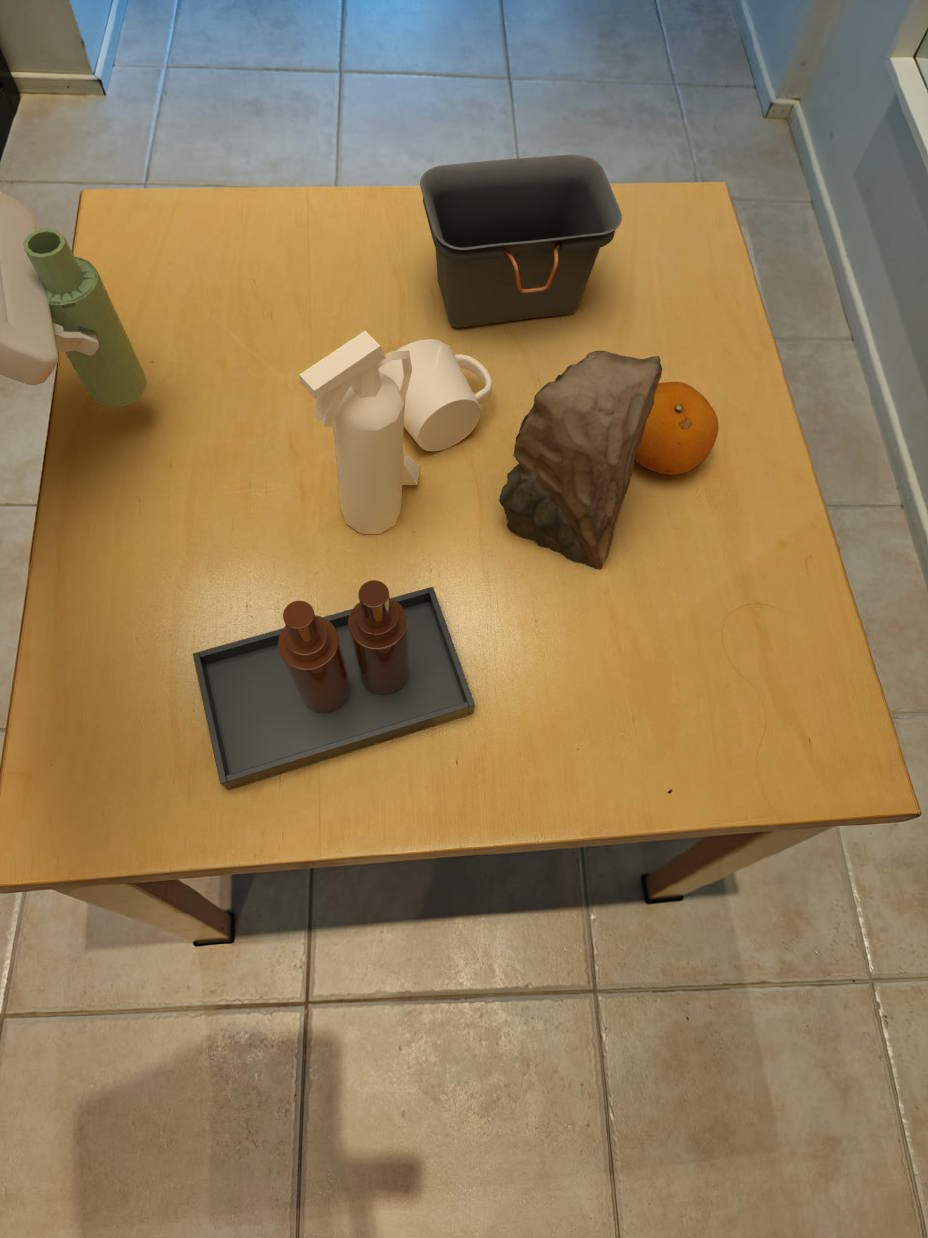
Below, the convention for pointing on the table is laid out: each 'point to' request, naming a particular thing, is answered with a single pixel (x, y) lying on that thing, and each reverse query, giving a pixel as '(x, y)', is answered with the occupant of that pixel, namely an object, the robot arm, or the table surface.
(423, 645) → the tray
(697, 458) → the fruit
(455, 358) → the mug
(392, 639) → the bottle row
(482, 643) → the table surface
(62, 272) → the green bottle
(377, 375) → the fire extinguisher
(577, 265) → the storage bin
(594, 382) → the brown rock chunk
